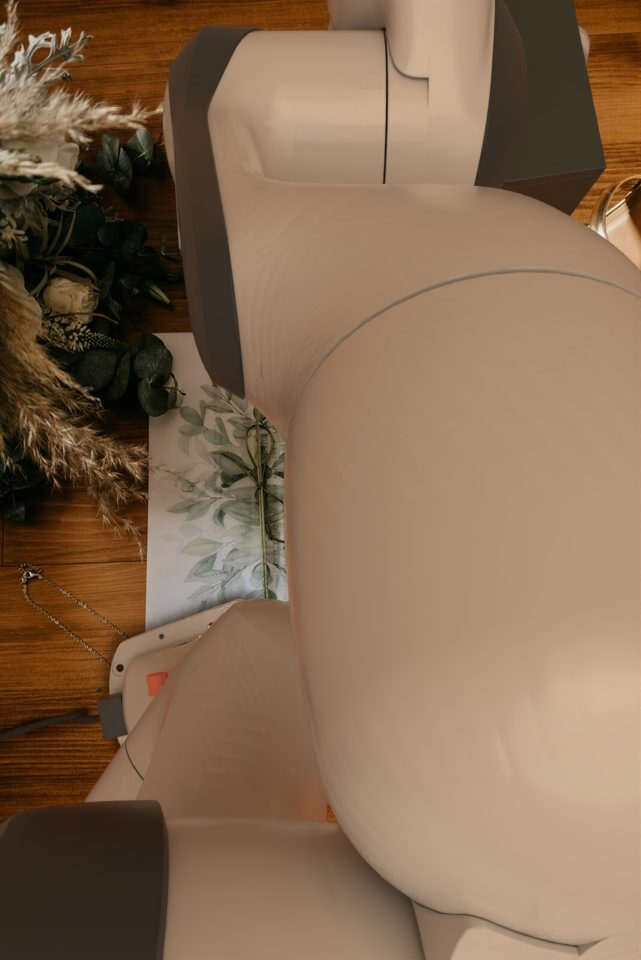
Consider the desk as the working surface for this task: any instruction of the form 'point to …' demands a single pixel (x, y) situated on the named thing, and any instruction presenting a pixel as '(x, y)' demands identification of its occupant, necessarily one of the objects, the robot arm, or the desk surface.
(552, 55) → the cabinet
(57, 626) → the desk surface
